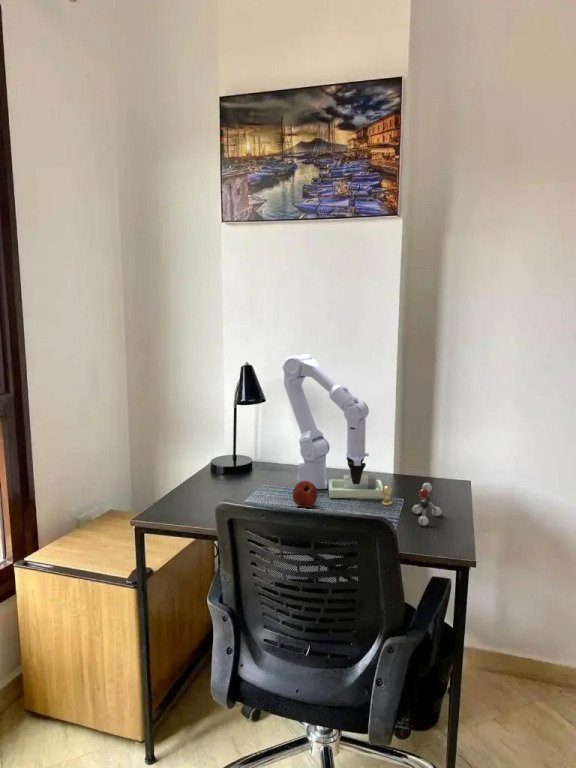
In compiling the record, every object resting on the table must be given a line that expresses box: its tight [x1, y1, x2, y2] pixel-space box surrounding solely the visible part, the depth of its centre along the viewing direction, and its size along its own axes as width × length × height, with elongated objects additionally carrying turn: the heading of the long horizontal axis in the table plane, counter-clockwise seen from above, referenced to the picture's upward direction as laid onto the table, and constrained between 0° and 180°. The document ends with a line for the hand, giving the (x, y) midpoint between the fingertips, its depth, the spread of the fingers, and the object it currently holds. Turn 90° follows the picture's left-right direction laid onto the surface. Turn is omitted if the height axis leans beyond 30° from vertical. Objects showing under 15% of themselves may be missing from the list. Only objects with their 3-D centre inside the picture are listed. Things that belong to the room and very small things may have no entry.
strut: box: [343, 474, 377, 490], centre depth 188 cm, size 10×4×5 cm, turn 87°
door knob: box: [381, 485, 392, 506], centre depth 179 cm, size 3×3×6 cm
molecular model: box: [411, 482, 442, 527], centre depth 165 cm, size 8×12×11 cm
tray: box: [327, 479, 384, 500], centre depth 189 cm, size 17×11×3 cm, turn 87°
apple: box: [292, 481, 318, 508], centre depth 176 cm, size 7×8×8 cm
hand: (355, 481), depth 188 cm, fingers open, 4 cm apart
